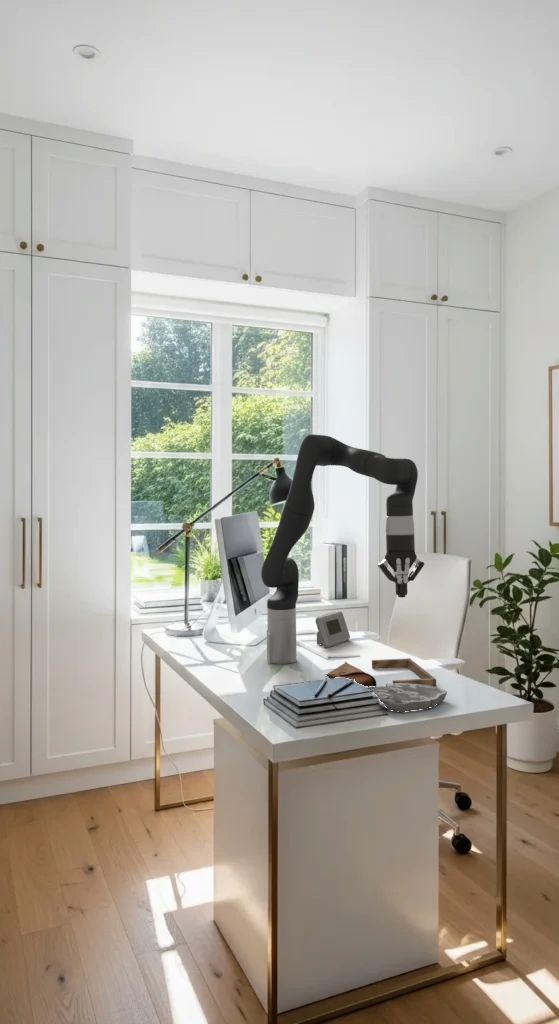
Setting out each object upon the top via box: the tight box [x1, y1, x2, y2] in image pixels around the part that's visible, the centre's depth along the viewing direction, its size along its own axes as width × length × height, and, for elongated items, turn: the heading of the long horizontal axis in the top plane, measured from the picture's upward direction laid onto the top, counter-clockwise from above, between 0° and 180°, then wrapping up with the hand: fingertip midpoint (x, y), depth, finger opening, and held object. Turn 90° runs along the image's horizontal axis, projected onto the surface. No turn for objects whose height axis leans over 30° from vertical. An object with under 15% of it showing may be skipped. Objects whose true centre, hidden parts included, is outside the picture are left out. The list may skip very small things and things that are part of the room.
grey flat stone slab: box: [372, 682, 448, 712], centre depth 183 cm, size 20×17×3 cm
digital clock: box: [314, 610, 351, 648], centre depth 253 cm, size 16×9×11 cm, turn 132°
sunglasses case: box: [325, 661, 377, 687], centre depth 204 cm, size 18×7×7 cm, turn 22°
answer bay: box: [371, 657, 437, 687], centre depth 207 cm, size 12×24×2 cm, turn 7°
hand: (401, 596), depth 191 cm, fingers closed
